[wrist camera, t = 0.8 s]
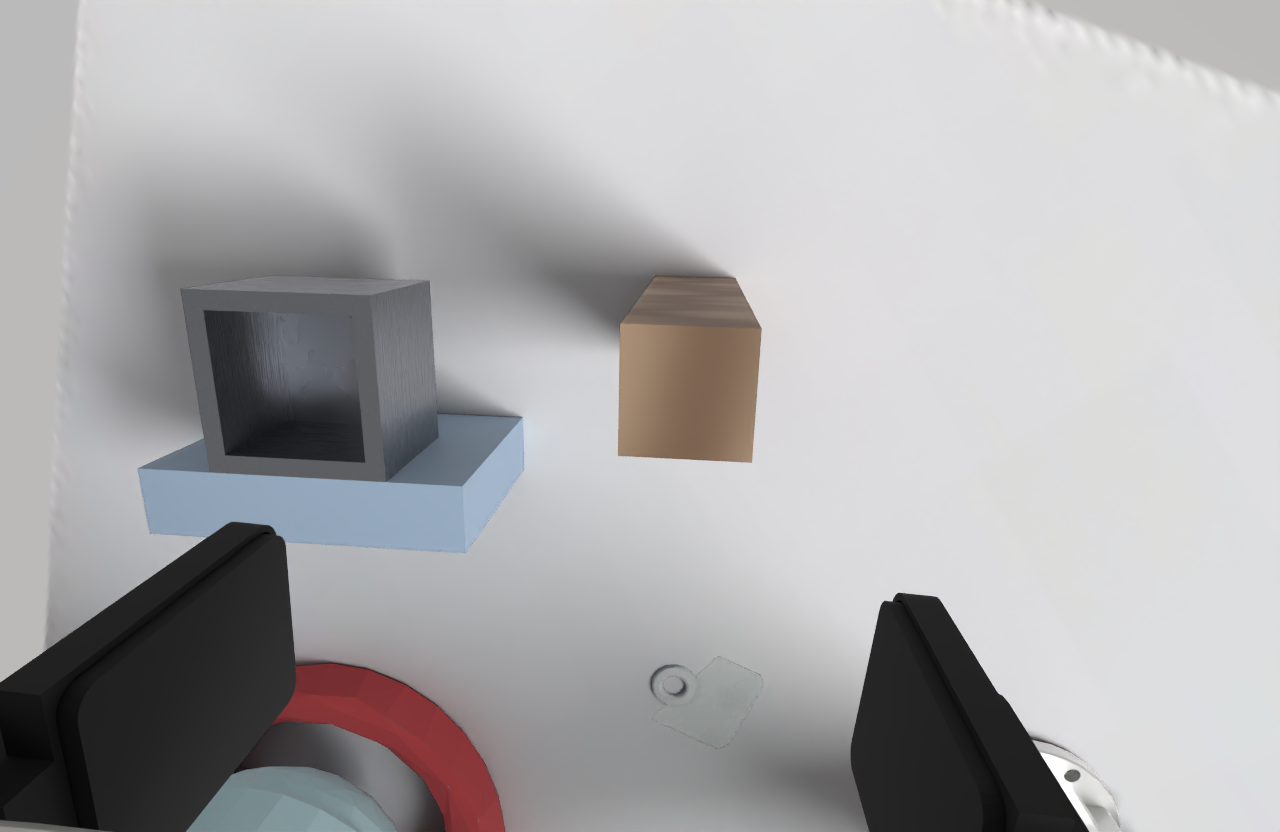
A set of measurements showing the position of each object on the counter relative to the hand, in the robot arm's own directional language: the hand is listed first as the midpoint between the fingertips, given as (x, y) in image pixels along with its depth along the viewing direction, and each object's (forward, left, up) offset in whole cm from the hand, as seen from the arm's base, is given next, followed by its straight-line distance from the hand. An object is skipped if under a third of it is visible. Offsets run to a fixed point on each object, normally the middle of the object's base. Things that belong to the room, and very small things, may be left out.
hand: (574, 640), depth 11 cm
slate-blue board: (+14, +6, -26) cm, 31 cm away
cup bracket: (+14, +1, -22) cm, 27 cm away
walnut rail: (-2, -1, -27) cm, 27 cm away
